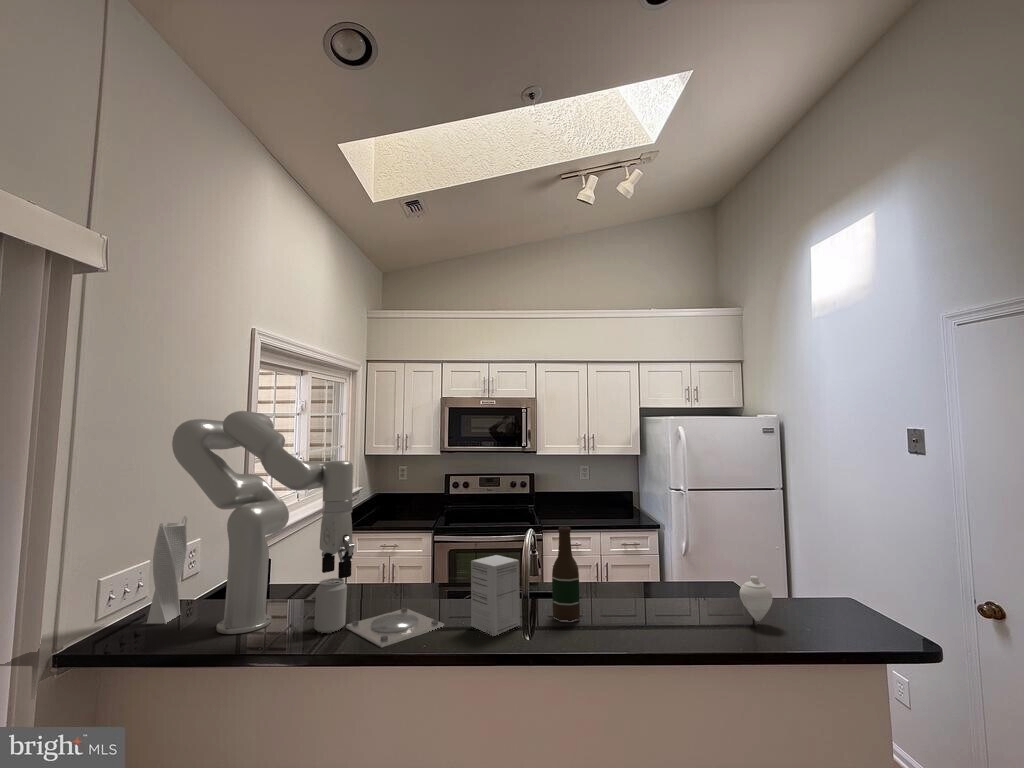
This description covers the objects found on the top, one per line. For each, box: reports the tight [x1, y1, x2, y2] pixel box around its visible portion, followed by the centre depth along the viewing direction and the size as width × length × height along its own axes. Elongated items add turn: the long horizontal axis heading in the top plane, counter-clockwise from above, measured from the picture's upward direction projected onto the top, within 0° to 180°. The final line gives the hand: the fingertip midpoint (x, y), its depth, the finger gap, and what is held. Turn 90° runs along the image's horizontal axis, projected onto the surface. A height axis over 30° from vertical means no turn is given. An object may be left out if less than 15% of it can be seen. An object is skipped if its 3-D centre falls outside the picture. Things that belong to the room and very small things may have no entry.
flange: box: [345, 607, 445, 648], centre depth 121 cm, size 18×18×2 cm
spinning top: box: [739, 575, 774, 622], centre depth 121 cm, size 8×8×12 cm
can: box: [313, 577, 348, 634], centre depth 121 cm, size 8×8×12 cm
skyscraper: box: [141, 515, 188, 625], centre depth 130 cm, size 8×8×28 cm
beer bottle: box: [551, 525, 581, 621], centre depth 128 cm, size 8×8×24 cm
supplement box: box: [470, 554, 521, 637], centre depth 122 cm, size 10×9×17 cm
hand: (336, 574), depth 122 cm, fingers open, 9 cm apart
